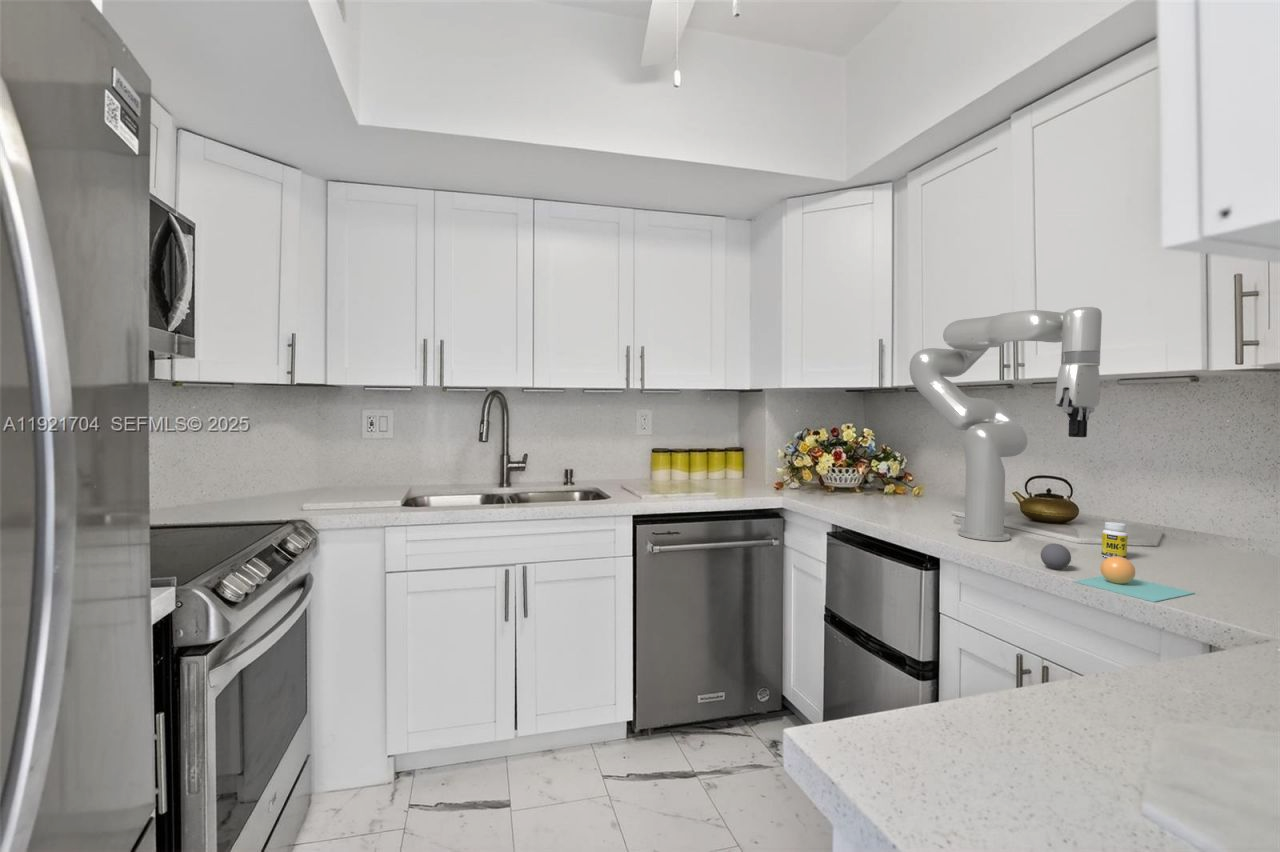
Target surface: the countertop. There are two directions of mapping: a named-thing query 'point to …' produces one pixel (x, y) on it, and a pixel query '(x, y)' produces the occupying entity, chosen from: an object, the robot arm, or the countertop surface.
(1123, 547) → the supplement bottle
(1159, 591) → the teal mark
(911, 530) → the countertop surface
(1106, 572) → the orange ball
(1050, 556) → the grey egg-shaped ball
